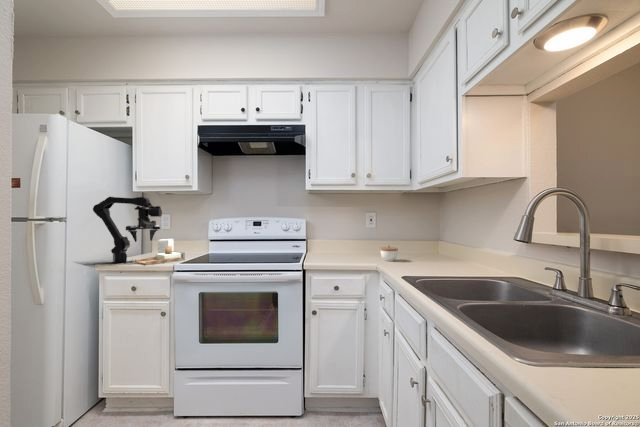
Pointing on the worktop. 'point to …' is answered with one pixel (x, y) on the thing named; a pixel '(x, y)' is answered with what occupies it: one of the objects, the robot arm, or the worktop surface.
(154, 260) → the rail base
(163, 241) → the supplement box
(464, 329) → the worktop surface
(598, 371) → the worktop surface
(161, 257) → the socket block
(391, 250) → the lidded jar
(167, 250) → the dowel
